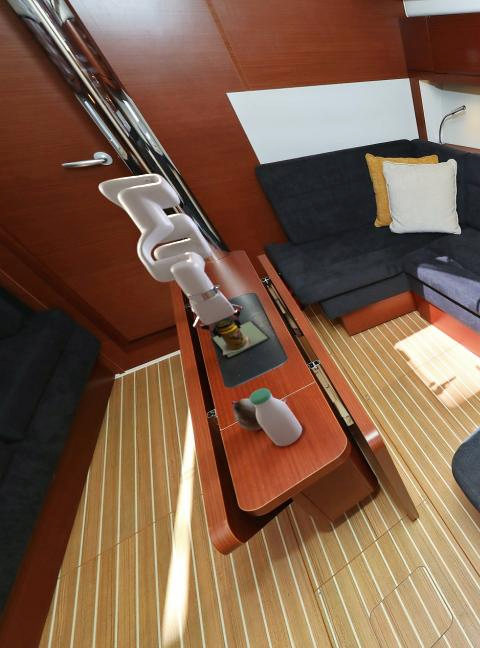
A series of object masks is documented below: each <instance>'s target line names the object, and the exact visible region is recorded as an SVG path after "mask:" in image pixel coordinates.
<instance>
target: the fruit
mask: <svg viewBox="0 0 480 648" xmlns="http://www.w3.org/2000/svg"><path fill="white" fill-rule="evenodd" d="M230 403H231V405H233V407H232V411H233V413H234V419H235V422H236V423H237V424H238V425H239V426H240V427H242V428H243V429H245V430H247V431H251V432H252V431H259V430H261V429H263V428H262V427H261V426H260V424H259V423H258V421H257V418H256V406H254V405H253V404H252V403H251V401H250V398H242V399H239V400H238V401H234V400H231V402H230Z"/></svg>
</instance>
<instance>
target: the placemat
mask: <svg viewBox="0 0 480 648" xmlns="http://www.w3.org/2000/svg"><path fill="white" fill-rule="evenodd" d="M240 327H241V328H239V330H240V331H241V333H242V334H243V336H244V337H245V338H246V337H248V342H249V347H247V348H244V349H241V350H238V351H235V352H232V353H229V354H225V355H226V356H227V357H228V358H229V359H230V358H232V357H234V356H236V355H239V354H241V353H243V352H244V351H247V350H248V349H251V348H252V347H255V346H257V345H260V344H261V343H263V342H264V341H267V340H268V339H269V338H268V337H267V336H266V335H265V334H264V333H263V332H262V331H261V329H259V328H258V327H257V326H256V325H255V324H254V323H253V322H252V320H251V321H247V322H246V323H243V324H241V325H240ZM212 339H213V341H214V342H215V343H216V344H217V345H218V347H220V349H221V350H222V351H223V344H226V343H225V341H224V340H223V339H222V337H220V338H219V337H218V336H213V337H212Z"/></svg>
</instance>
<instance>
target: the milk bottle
mask: <svg viewBox="0 0 480 648" xmlns="http://www.w3.org/2000/svg"><path fill="white" fill-rule="evenodd" d="M249 399H250V401H251V403H252V404H253V405H254V406H256V418H257V421H258V423H259V424H260V426H261V427H262V428H261V429H262V430H263V431H264V432H265V434H266V435H267V436H268V438H269V439H270V440H271V441H272V442H273V443H274V445H275V446H277V447H286V446H287V447H288V446H289V445H292V444H294V443H295V442H296V441H297V440H298V439H299V438H300V437H301V435H302V433H303V432H302V431H303V427H302V425H301V423H300V421H299V420H298V419H297V418H296V416H295V415H294V413H293V411H292V410H291V409H290V407H289V406H288V404H286V402H284V401H283V400H281V399H278V398H275V397H274V396H273V394H272V393H271V391H270V389H268V388H265V387H263V388H258V389H257V390H254V391H253V392H252V393H251V394H250V396H249Z"/></svg>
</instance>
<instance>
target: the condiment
mask: <svg viewBox="0 0 480 648" xmlns="http://www.w3.org/2000/svg"><path fill="white" fill-rule="evenodd" d="M215 329H216V330H217V331H218V332H219V334H220V335H221V337H222V339H223V340H224V341H225V343H226V344H223V350H222V356H225V355H226V354H229V353H232V352H235V351H238V350H241V349H244V348H247V347H249V342H248V337H246V338H245V337H244V336H243V334H242V333H241V331H240V330H239V328H238V326H237V325H236V324H235V323H234V322H233V320H232V318H224V319H222V320H219V321H217V322H216V324H215Z"/></svg>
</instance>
